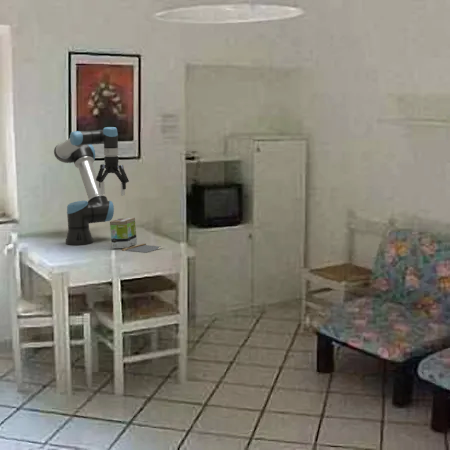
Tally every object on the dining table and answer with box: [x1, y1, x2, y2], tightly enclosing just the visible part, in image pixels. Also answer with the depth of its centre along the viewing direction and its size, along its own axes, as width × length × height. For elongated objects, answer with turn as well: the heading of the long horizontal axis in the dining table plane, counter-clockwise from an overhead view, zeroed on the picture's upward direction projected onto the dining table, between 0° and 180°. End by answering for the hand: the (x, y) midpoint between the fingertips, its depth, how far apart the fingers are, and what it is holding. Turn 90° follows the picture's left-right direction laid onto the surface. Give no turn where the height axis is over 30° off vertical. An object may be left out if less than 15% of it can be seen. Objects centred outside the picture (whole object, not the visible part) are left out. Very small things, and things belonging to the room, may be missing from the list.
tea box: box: [109, 217, 138, 249], centre depth 416 cm, size 15×10×15 cm, turn 170°
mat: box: [126, 244, 160, 254], centre depth 409 cm, size 14×16×1 cm
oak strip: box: [121, 243, 147, 252], centre depth 413 cm, size 2×18×1 cm, turn 146°
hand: (112, 194), depth 418 cm, fingers open, 13 cm apart
